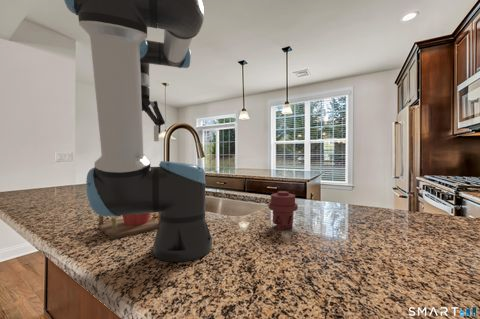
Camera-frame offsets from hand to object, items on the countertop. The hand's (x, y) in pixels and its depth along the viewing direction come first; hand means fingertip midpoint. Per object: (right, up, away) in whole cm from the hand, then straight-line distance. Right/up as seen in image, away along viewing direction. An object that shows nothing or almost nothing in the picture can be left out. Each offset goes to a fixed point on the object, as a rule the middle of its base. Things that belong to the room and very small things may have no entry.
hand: (139, 140), depth 88 cm
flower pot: (+3, -30, -9) cm, 32 cm away
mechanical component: (+55, -31, -10) cm, 64 cm away
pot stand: (+2, -31, -10) cm, 33 cm away
